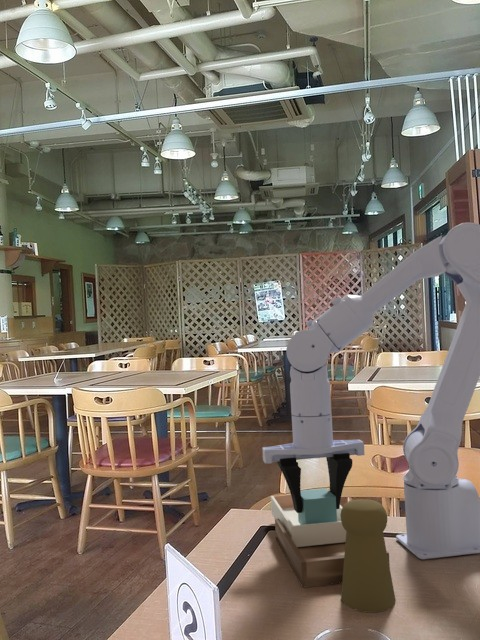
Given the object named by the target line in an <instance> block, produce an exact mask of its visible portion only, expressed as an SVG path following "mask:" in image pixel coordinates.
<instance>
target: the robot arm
mask: <svg viewBox="0 0 480 640" xmlns="http://www.w3.org/2000/svg"><path fill="white" fill-rule="evenodd" d="M441 275H446V277H448V278H449V279H450V280H451V281H453V282H454V283H455V285H456V287H457V289H458V290H459V292H460V294H461V295H462V297H463V298H464V301H465V306H464V308H463V311H462V313H461V316H460V318H459V322H458V325H457V326H456V329H455V332H454V335H453V338H452V340H451V342H450V345H449V348H448V351H447V354H446V356H445V359H444V362H443V364H442V367H441V369H440V372H439V374H438V378H437V380H436V383H435V385H434V387H433V390H432V393H431V397H430V399H429V401H428V405H427V407H426V408H425V410H424V411H423V413H422V414H421V415H420V418H419V421H418V423H417V425H416V427H414V429H412V430H411V431H410V432H409V433H408V434H407V435H406V437H405V438H404V441H403V445H402V449H403V450H402V452H403V455H404V458H405V460H406V461H407V463H408V471H407V473H406V474H405V475H404V476H403V490H404V491H403V492H404V494H403V495H404V509H405V527H406V529H405V530H406V531H405V532H406V533H402V534H397V535H396V536H395V538H396V540H397V541H398V542H400V544H402V545H403V546H404V547H405V548H406V549H407V550H409V551H410V552H411V554H413V555H414V556H415V557H416V558H417V559H420V560H430V559H438V558H447V557H455V556H456V557H457V556H462V555H472V554H480V496H479V492H478V490H477V487H476V486H475V485H474V483H473V482H472V481H470V480H469V479H468V478H459V477H458V475H457V474H458V471H459V466H460V463H459V462H460V461H459V456H458V454H459V447H460V444H461V442H462V435H463V422H464V418H465V416H466V414H467V411H468V408H469V406H470V402H471V401H472V398H473V395H474V392H475V390H476V387H477V385H478V383H479V380H480V224H479V223H476V222H462V223H459V224H458V225H455V226H453V227H452V228H451V229H450V230H449V231H448V232H447V233H446V235H444V236H443V235H440V236H438V237H436V238H435V239H433V240H431V241H429V242H428V243H426V244H424V245H423V246H421V247H420V248H418V249H416V250H415V251H414V252H412V253H411V254H410V255H409V256H407V257H406V258H405V259H404V260H403V261H401V262H400V263H399V264H397V266H395V267H394V268H393V269H392V270H391V271H389V272H388V273H386V274H385V275H384V276H383V277H382V278H380V279H379V280H378V281H377V282H376V283H374V284H373V285H371V287H370V288H368V289H367V290H366V291H365V292H364V293H362V294H360V295H356V294H346V295H344V296H343V297H342V298H340V297H339V296H336V297H335V298H334V299H333V300H332V301H331V304H332V305H331V307H329V308H328V309H326V311H325V312H323V313H322V314H320V315H319V316H318V317H317V318H315V319H314V320H313V319H309V320H308V321H307V322H305V325H306V327H307V328H308V329H301V330H298V331H296V332H295V333H294V335H293V336H292V337H290V339H289V341H288V342H287V344H286V351H285V352H286V358H287V360H288V362H289V364H290V369H289V378H290V383H289V394H290V413H291V427H292V428H291V429H292V431H291V432H292V442H291V443H286V444H285V443H284V444H280V445H273V446H263V447H261V448H262V449H261V450H262V461H263V463H264V464H265V465H267V464H273V463H275V462H276V463H277V465H278V467H279V469H280V471H281V473H282V475H283V478H284V480H285V481H286V484H287V487H288V489H289V494H291V496H292V500H293V505H294V510H295V511H296V512H297V513H302V500H301V478H302V477H301V474H302V468H301V467H300V466H299V462H298V461H300V460H311V459H321V458H325V459H326V464H327V471H328V479H329V491H330V492H331V493H332V494H333V495H334V496H335V497H336V509H339V507H340V505H341V498H342V494H343V490H344V486H345V483H346V480H347V477H348V476H349V473H350V471H351V470H352V468H353V459H352V458H351V456H365V453H366V452H365V442H364V441H363V440H361V439H334V435H333V433H334V432H333V417H332V416H333V415H332V400H331V399H332V398H331V383H330V380H329V378H328V377H329V376H328V375H329V374H328V364H327V363H326V362H327V361H328V359H329V356H330V354H333V353H337V354H338V353H340V352H341V351H342V350H344V349H345V348H346V347H347V346H349V345H350V344H351V343H353V342H354V341H356V340H357V339H358V338H359V337H361V336H362V335H364V333H366V332H367V331H368V330H370V329H371V328H372V327H373V325H374V317H375V313H376V312H377V311H379V310H380V309H382V307H383V306H385V305H387V304H388V303H389V302H391V301H392V300H393V299H395V298H397V296H399V295H400V294H401V293H403V292H404V291H406V290H407V289H409V288H410V287H411V286H412V285H414V284H416V283H417V282H418V281H420V280H422V279H428V278H434V277H438V276H441ZM297 460H298V461H297Z"/></svg>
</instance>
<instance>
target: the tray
mask: <svg viewBox="0 0 480 640" xmlns="http://www.w3.org/2000/svg"><path fill="white" fill-rule="evenodd" d="M270 507H271V508H270V510H271V516H272V517H273V519H274V520H275V519H280V521H281V523H282V524H283V526H284V527H285V529H286V531H287V532H288V534H289V535H290V537H291V539H292V540H293V542H294V543H295V545H296V547H303V546H313V545H322V544H332V543H341V542H346V530H345V529H344V528H343V525H342V522H341V516H340V514H341V510H342V508H343V506H342V505H341V504H340V507H339V509H336V510H337V521H335V522H325V523H315V524H305V525H301V524H300V523H299V522H298V513H297V512H296V511H295V510H294V505H293V500H292V496H291V493H288V494H281V495H279V494H278V495H270Z"/></svg>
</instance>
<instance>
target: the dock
mask: <svg viewBox="0 0 480 640" xmlns="http://www.w3.org/2000/svg"><path fill="white" fill-rule="evenodd" d="M274 525H275V526H274V527H275V529H274V530H275V540H276V542H277V544H278V546H279V547H280V549H281V551H282V553H283V555H284V557H285V558H286V560H287V562H288V564H289V566H290V567H291V569H292V572H293V573H294V575H295V576H296V578H297V580H298V582H299V583H300V586H301V587H302V588H310V587H321V586H331V585H337V584H342V581H343V568H344V555H345V542H341V543H332V544H322V545H313V546H303V547H296V545H295V543H294V542H293V540H292V539H291V537H290V535H289V534H288V532H287V531H286V529H285V527H284V526H283V524H282V523H281V521H280V519H275V518H274ZM387 556H388V562H389V567H390V568H391V566H390V564H391V563H390V553H389V551H387Z"/></svg>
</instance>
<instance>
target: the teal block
mask: <svg viewBox="0 0 480 640" xmlns="http://www.w3.org/2000/svg"><path fill="white" fill-rule="evenodd" d="M300 491H301V500H302V513H298V522H299V523H300V524H301V525H305V524H315V523H325V522H335V521H337V510H336V497H335V496H334V495H333V494H332V493H331V492H330V489H328V488H327V487H325V488H317V489H316V488H314V489H303V490H301V489H300Z"/></svg>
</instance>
